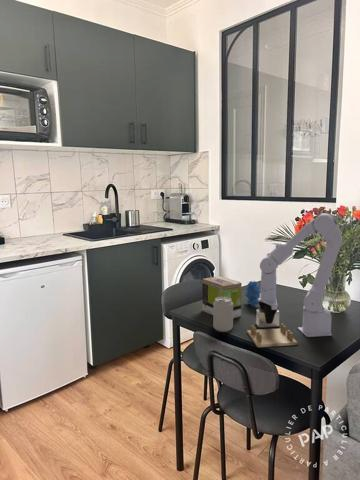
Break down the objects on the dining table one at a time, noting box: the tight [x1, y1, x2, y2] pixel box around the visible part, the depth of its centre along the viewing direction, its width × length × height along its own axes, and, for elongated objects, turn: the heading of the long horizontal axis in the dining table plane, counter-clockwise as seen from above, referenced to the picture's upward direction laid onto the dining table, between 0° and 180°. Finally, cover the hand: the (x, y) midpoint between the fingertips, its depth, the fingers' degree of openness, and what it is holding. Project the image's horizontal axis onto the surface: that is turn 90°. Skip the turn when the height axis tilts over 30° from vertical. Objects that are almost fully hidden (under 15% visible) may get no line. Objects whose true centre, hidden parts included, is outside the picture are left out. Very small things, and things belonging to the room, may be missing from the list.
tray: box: [246, 323, 298, 348], centre depth 127 cm, size 14×12×4 cm
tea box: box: [202, 275, 242, 319], centre depth 151 cm, size 15×10×15 cm
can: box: [212, 297, 234, 333], centre depth 135 cm, size 8×8×12 cm
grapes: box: [244, 280, 261, 307], centre depth 160 cm, size 12×7×12 cm, turn 16°
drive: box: [255, 308, 280, 328], centre depth 139 cm, size 8×4×6 cm, turn 96°
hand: (267, 321), depth 139 cm, fingers closed on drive, 3 cm apart
